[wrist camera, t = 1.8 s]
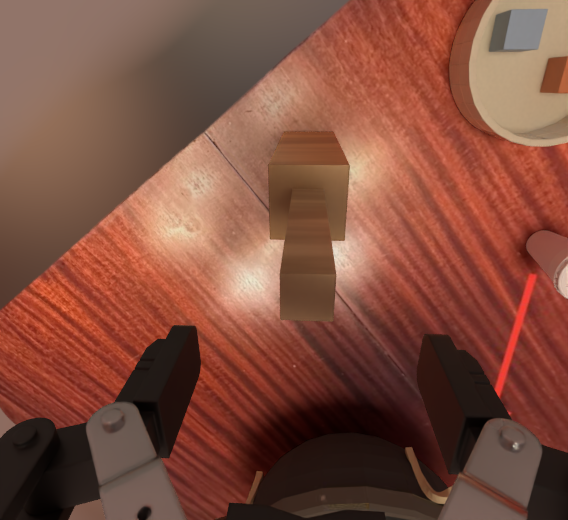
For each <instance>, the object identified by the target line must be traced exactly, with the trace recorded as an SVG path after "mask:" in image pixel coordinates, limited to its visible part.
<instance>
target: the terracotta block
mask: <svg viewBox="0 0 568 520" xmlns="http://www.w3.org/2000/svg"><path fill="white" fill-rule="evenodd" d="M540 92H541V93H568V56H564V57H553V58H549V59H548V63H547V67H546V71H545V75H544V79H543V83H542V86H541V90H540Z"/></svg>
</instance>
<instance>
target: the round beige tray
mask: <svg viewBox="0 0 568 520" xmlns="http://www.w3.org/2000/svg"><path fill="white" fill-rule="evenodd" d="M511 9H548V11H547V16H546V20H545V24H544V28H543V32H542V36H541V40H540V44H539V48H538V49H537V50H530V51H522V52H489V48H490V43H491V38H492V33H493V28H494V23H495V18H496V15H497V14H500V13H503V12H506V11H508V10H511ZM564 56H568V0H475V1H474V3H473V4H472V5H471V7H470V8H469V10H468V11H467V13H466V15H465V16H464V18H463V20H462V22H461V24H460V26H459V28H458V31H457V33H456V36H455V39H454V42H453V45H452V50H451V54H450V63H449V80H450V87H451V91H452V95H453V98H454V100H455V103H456V105H457V107H458V109H459V110H460V112H461V113H462V115H463V116H464V117H465V118H466V119H467V120H468V122H469V123H471V124H472V125H473V126H474V127H476V128H477V129H479V130H481V131H482V132H484V133H487V134H488V135H491V136H494V137H497V138H501V139H504V140H507V141H510V142H514V143H518V144H522V145H526V146H553V145H558V144H563V143H567V142H568V93H541V92H540V90H541V86H542V83H543V79H544V75H545V71H546V67H547V63H548V59H549V58H553V57H564Z"/></svg>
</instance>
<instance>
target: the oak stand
mask: <svg viewBox="0 0 568 520" xmlns="http://www.w3.org/2000/svg"><path fill="white" fill-rule="evenodd" d="M349 169H350V165H349V163H348V161H347V159H346V157H345V155H344V153H343V150H342V148H341V146H340V144H339V142H338V140H337V138H336V136H335V134H334V132H284V133H283V135H282V137H281V139H280V141H279V143H278V146H277V148H276V150H275V152H274V154H273V156H272V158H271V160H270V162H269V164H268V175H269V223H270V239H279V240H285V236H286V229H287V222H288V215H289V209H290V202H291V195H292V189H324V192H325V199H326V207H327V214H328V221H329V228H330V235H331V240H332V241H344V240H345V227H346V212H347V198H348V184H349Z"/></svg>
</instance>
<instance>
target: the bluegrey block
mask: <svg viewBox="0 0 568 520" xmlns="http://www.w3.org/2000/svg"><path fill="white" fill-rule="evenodd" d="M547 11H548V9H511V10H508V11H506V12H503V13H500V14H497V15H496V18H495V23H494V28H493V33H492V38H491V43H490V48H489V52H522V51H530V50H537V49H538V48H539V44H540V40H541V36H542V32H543V28H544V24H545V20H546V16H547Z"/></svg>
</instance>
